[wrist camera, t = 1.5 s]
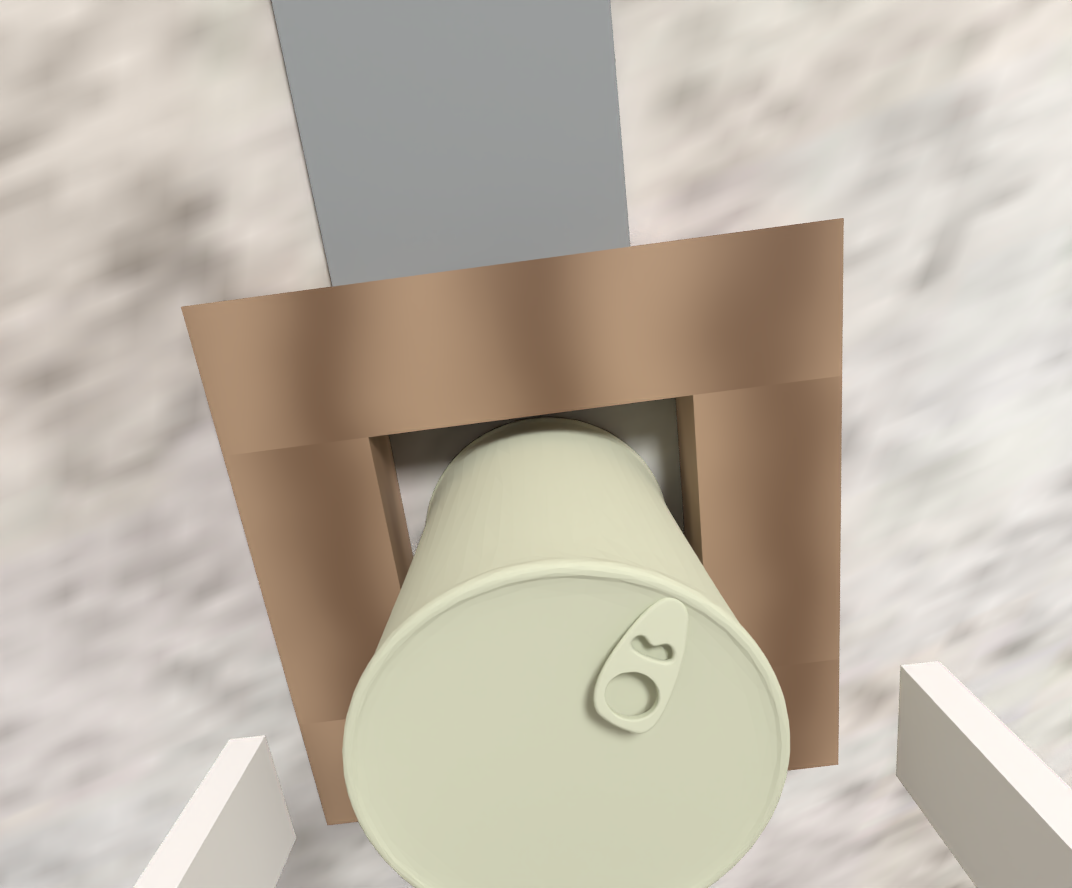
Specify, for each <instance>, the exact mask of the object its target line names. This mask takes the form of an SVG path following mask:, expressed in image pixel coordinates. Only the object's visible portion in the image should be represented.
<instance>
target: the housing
mask: <svg viewBox="0 0 1072 888" xmlns="http://www.w3.org/2000/svg"><path fill="white" fill-rule="evenodd" d="M843 226H844V218H840V219H833V220H825V221H818V222H810V223H803V224H795V225H788V226H780V227H773V228H765V229H758V230H751V231H743V232H736V233H728V234H721V235H713V236H706V237H698V238H691V239H683V240H676V241H669V242H661V243H654V244H646V245H639V246H631V247H624V248H616V249H609V250H601V251H594V252H587V253H579V254H572V255H564V256H557V257H549V258H542V259H534V260H527V261H519V262H512V263H504V264H497V265H490V266H482V267H475V268H467V269H460V270H452V271H445V272H437V273H430V274H422V275H415V276H408V277H400V278H393V279H385V280H378V281H370V282H363V283H355V284H348V285H340V286H333V287H326V288H318V289H311V290H303V291H296V292H288V293H281V294H273V295H266V296H258V297H251V298H243V299H236V300H229V301H221V302H214V303H206V304H199V305H191V306H184V307H181V309H182V312H183V316H184V319H185V323H186V326H187V330H188V333H189V337H190V340H191V344H192V347H193V351H194V355H195V358H196V362H197V365H198V369H199V372H200V376H201V379H202V383H203V386H204V390H205V393H206V397H207V401H208V404H209V408H210V411H211V415H212V418H213V422H214V425H215V429H216V432H217V436H218V439H219V443H220V447H221V450H222V454H223V457H224V461H225V464H226V468H227V471H228V475H229V478H230V482H231V486H232V489H233V493H234V496H235V500H236V503H237V507H238V510H239V514H240V517H241V521H242V524H243V528H244V532H245V535H246V539H247V542H248V546H249V549H250V553H251V556H252V560H253V563H254V567H255V570H256V574H257V578H258V581H259V585H260V588H261V592H262V595H263V599H264V602H265V606H266V609H267V613H268V616H269V620H270V624H271V627H272V631H273V634H274V638H275V641H276V645H277V648H278V652H279V655H280V659H281V662H282V666H283V670H284V673H285V677H286V680H287V684H288V687H289V691H290V694H291V698H292V701H293V705H294V708H295V712H296V716H297V719H298V723H299V726H300V730H301V733H302V737H303V740H304V744H305V747H306V751H307V754H308V758H309V762H310V765H311V769H312V772H313V776H314V779H315V783H316V786H317V790H318V793H319V797H320V801H321V804H322V808H323V811H324V815H325V818H326V822H327V825H334V824H342V823H351V822H358V819H357V817H356V814H355V812H354V810H353V807H352V804H351V802H350V799H349V796H348V792H347V787H346V783H345V778H344V769H343V754H342V748H343V736H344V727H345V721H346V716H347V713H348V709H349V706H350V703H351V700H352V696H353V693H354V691H355V688H356V686H357V684H358V682H359V679H360V677H361V675H362V674H363V672H364V670H365V669H366V667H367V665H368V663H369V662H370V660H371V659H372V657H373V656H374V654H375V651H376V649H377V646H378V644H379V641H380V639H381V637H382V634H383V632H384V629H385V627H386V624H387V622H388V620H389V617H390V615H391V612H392V610H393V607H394V605H395V602H396V600H397V598H398V595H399V593H400V590H401V588H402V585H403V583H404V580H405V578H406V575H407V573H408V570H409V567H410V565H411V562H412V560H413V554H412V549H411V544H410V539H409V534H408V529H407V524H406V519H405V514H404V509H403V504H402V499H401V494H400V489H399V484H398V480H397V475H396V470H395V465H394V460H393V455H392V450H391V445H390V440H389V434H397V433H405V432H412V431H420V430H428V429H436V428H443V427H451V426H459V425H466V424H474V423H482V422H489V421H497V420H505V419H513V418H520V417H528V416H536V415H543V414H551V413H559V412H567V411H574V410H582V409H590V408H597V407H605V406H613V405H620V404H628V403H636V402H644V401H651V400H659V399H667V398H674V397H676V412H677V427H678V442H679V457H680V472H681V487H682V502H683V517H684V532H685V538H686V539H687V541H688V543H689V544H690V546H691V547H692V549H693V551H694V552H695V554H696V555H697V557H698V559H699V560H700V562H701V564H702V565H703V567H704V568H705V570H706V572H707V573H708V575H709V576H710V578H711V580H712V581H713V583H714V584H715V586H716V588H717V589H718V591H719V592H720V594H721V595H722V597H723V598H724V600H725V602H726V603H727V605H728V606H729V608H730V609H731V611H732V612H733V614H734V616H735V617H736V619H737V620H738V622H739V623H740V624H741V626H742V627H743V628H744V629H745V630H746V631H747V632H748V633H749V634H750V636H751V637H752V638H753V639H754V640H755V642H756V643H757V645H758V646H759V648H760V649H761V651H762V652H763V653H764V655H765V657H766V658H767V660H768V662H769V664H770V665H771V667H772V669H773V671H774V673H775V675H776V678H777V680H778V682H779V685H780V687H781V690H782V693H783V696H784V699H785V704H786V709H787V714H788V719H789V729H790V757H789V765H788V770H796V769H805V768H813V767H821V766H830V765H838V734H839V633H840V531H841V429H842V327H843ZM788 770H787V771H788Z"/></svg>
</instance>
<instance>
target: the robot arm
mask: <svg viewBox="0 0 1072 888" xmlns="http://www.w3.org/2000/svg"><path fill="white" fill-rule="evenodd" d="M896 776H897V777H898V779H899V780H900V782H901V783H902V784H903V786H904V787H905V788H906V790H907V791H908V793H909V794H910V795H911V797H912V798H913V800H914V801H915V802H916V804H917V805H918V807H919V808H920V809H921V811H922V812H923V814H924V815H925V816H926V818H927V819H928V821H929V822H930V823H931V825H932V826H933V828H934V829H935V830H936V832H937V833H938V835H939V836H940V837H941V839H942V840H943V841H944V843H945V844H946V846H947V847H948V848H949V850H950V851H951V853H952V854H953V855H954V857H955V858H956V860H957V861H958V862H959V864H960V865H961V867H962V868H963V869H964V871H965V872H966V874H967V875H968V876H969V878H970V879H971V881H972V882H973V883H974V885H975V886H976V888H1072V789H1071V788H1070V787H1069V786H1068V785H1067V784H1066V783H1065V782H1064V781H1063V780H1062V779H1061V778H1060V777H1059V776H1058V775H1057V774H1056V773H1055V772H1054V771H1053V770H1052V769H1050V768H1049V767H1048V766H1047V765H1046V764H1045V763H1044V762H1043V761H1042V760H1041V759H1040V758H1039V757H1038V756H1037V755H1036V754H1035V753H1034V752H1033V751H1032V750H1031V749H1030V748H1029V747H1028V746H1027V745H1026V744H1025V743H1024V742H1022V741H1021V740H1020V739H1019V738H1018V737H1017V736H1016V735H1015V734H1014V733H1013V732H1012V731H1011V730H1010V729H1009V728H1008V727H1007V726H1006V725H1005V724H1004V723H1003V722H1002V721H1001V720H1000V719H999V718H998V717H997V716H996V715H994V714H993V713H992V712H991V711H990V710H989V709H988V708H987V707H986V706H985V705H984V704H983V703H982V702H981V701H980V700H979V699H978V698H977V697H976V696H975V695H974V694H973V693H972V692H971V691H970V690H969V689H968V688H966V687H965V686H964V685H963V684H962V683H961V682H960V681H959V680H958V679H957V678H956V677H955V676H954V675H953V674H952V673H951V672H950V671H949V670H948V669H947V668H946V667H945V666H944V665H943V664H942V663H941V662H940V661H935V662H926V663H916V664H907V665H901V667H900V691H899V716H898V740H897V764H896ZM295 840H296V835H295V832H294V829H293V825H292V822H291V819H290V815H289V812H288V809H287V805H286V802H285V799H284V795H283V792H282V789H281V786H280V782H279V779H278V776H277V772H276V769H275V766H274V762H273V759H272V756H271V752H270V749H269V746H268V742H267V739H266V736H265V735H263V736H254V737H245V738H236V739H229V741H228V742H227V744H226V745H225V747H224V749H223V750H222V752H221V753H220V755H219V756H218V758H217V759H216V761H215V762H214V764H213V765H212V767H211V769H210V770H209V772H208V773H207V775H206V776H205V778H204V779H203V781H202V782H201V784H200V785H199V787H198V788H197V790H196V792H195V793H194V795H193V796H192V798H191V799H190V801H189V802H188V804H187V805H186V807H185V808H184V810H183V811H182V813H181V815H180V816H179V818H178V819H177V821H176V822H175V824H174V825H173V827H172V828H171V830H170V831H169V833H168V835H167V836H166V838H165V839H164V841H163V842H162V844H161V845H160V847H159V848H158V850H157V851H156V853H155V854H154V856H153V858H152V859H151V861H150V862H149V864H148V865H147V867H146V868H145V870H144V871H143V873H142V874H141V876H140V878H139V879H138V881H137V882H136V884H135V885H134V887H133V888H275V887H276V885H277V883H278V880H279V878H280V875H281V873H282V871H283V868H284V866H285V864H286V861H287V859H288V856H289V854H290V852H291V849H292V847H293V845H294V842H295Z"/></svg>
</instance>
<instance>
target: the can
mask: <svg viewBox="0 0 1072 888" xmlns="http://www.w3.org/2000/svg"><path fill="white" fill-rule="evenodd" d="M342 754H343V769H344V778H345V783H346V787H347V792H348V796H349V799H350V802H351V804H352V807H353V810H354V812H355V814H356V817H357V819H358V822H359V824H360V826H361V827H362V829H363V831H364V832H365V834H366V836H367V838H368V839H369V841H370V842H371V844H372V845H373V846H374V848H375V849H376V850H377V851H378V853H379V854H380V855H381V857H382V858H383V859H384V860H385V861H386V862H387V863H388V864H389V865H390V866H391V867H392V868H393V869H394V870H395V871H396V872H397V873H398V874H399V875H400V876H401V877H402V878H403V879H404V880H406V881H407V882H408V883H409V884H411V885H412V886H413V887H415V888H708V887H709V886H711V885H712V884H713V883H715V882H716V881H718V880H719V879H720V878H721V877H722V876H723V875H725V874H726V873H727V872H728V871H729V870H730V869H732V868H733V867H734V866H735V865H736V864H737V863H738V862H739V861H740V859H741V858H742V857H743V856H744V855H745V854H746V853H747V852H748V851H749V850H750V849H751V847H752V846H753V845H754V843H755V842H756V840H757V839H758V838H759V836H760V835H761V833H762V832H763V830H764V829H765V827H766V825H767V824H768V822H769V820H770V819H771V817H772V815H773V813H774V810H775V808H776V806H777V804H778V802H779V799H780V796H781V793H782V789H783V786H784V783H785V780H786V775H787V770H788V765H789V757H790V729H789V719H788V714H787V709H786V704H785V699H784V696H783V693H782V690H781V687H780V685H779V682H778V680H777V678H776V675H775V673H774V671H773V669H772V667H771V665H770V664H769V662H768V660H767V658H766V657H765V655H764V653H763V652H762V651H761V649H760V648H759V646H758V645H757V643H756V642H755V640H754V639H753V638H752V637H751V636H750V634H749V633H748V632H747V631H746V630H745V629H744V628H743V627H742V626H741V624H740V623H739V622H738V620H737V619H736V617H735V616H734V614H733V612H732V611H731V609H730V608H729V606H728V605H727V603H726V602H725V600H724V598H723V597H722V595H721V594H720V592H719V591H718V589H717V588H716V586H715V584H714V583H713V581H712V580H711V578H710V576H709V575H708V573H707V572H706V570H705V568H704V567H703V565H702V564H701V562H700V560H699V559H698V557H697V555H696V554H695V552H694V551H693V549H692V547H691V546H690V544H689V543H688V541H687V539H686V538H685V536H684V534H683V533H682V531H681V530H680V528H679V526H678V525H677V523H676V521H675V520H674V518H673V516H672V515H671V513H670V511H669V509H668V508H667V506H666V504H665V501H664V497H663V495H662V492H661V489H660V487H659V485H658V482H657V480H656V479H655V477H654V475H653V473H652V472H651V470H650V469H649V467H648V466H647V465H646V463H645V462H644V461H643V460H642V458H641V457H640V456H639V455H638V454H637V453H636V452H635V451H634V450H633V449H632V448H630V447H629V446H628V445H627V444H626V443H624V442H623V441H622V440H620V439H619V438H617V437H616V436H614V435H612V434H611V433H609V432H607V431H605V430H603V429H601V428H599V427H596V426H593V425H591V424H588V423H584V422H581V421H577V420H572V419H565V418H548V417H542V418H532V419H525V420H520V421H516V422H512V423H509V424H506V425H503V426H501V427H498V428H496V429H494V430H492V431H489V432H488V433H486V434H484V435H482V436H481V437H479V438H478V439H476V440H474V441H473V442H472V443H470V444H469V445H468V446H467V447H465V448H464V449H463V450H462V451H461V452H460V453H459V454H458V455H457V456H456V457H455V458H454V459H453V460H452V462H451V463H450V464H449V465H448V467H447V468H446V470H445V471H444V472H443V474H442V476H441V477H440V479H439V481H438V483H437V485H436V487H435V489H434V491H433V494H432V497H431V500H430V503H429V507H428V512H427V519H426V526H425V528H424V531H423V534H422V536H421V539H420V542H419V544H418V547H417V549H416V552H415V555H414V557H413V560H412V562H411V565H410V567H409V570H408V573H407V575H406V578H405V580H404V583H403V585H402V588H401V590H400V593H399V595H398V598H397V600H396V602H395V605H394V607H393V610H392V612H391V615H390V617H389V620H388V622H387V624H386V627H385V629H384V632H383V634H382V637H381V639H380V641H379V644H378V646H377V649H376V651H375V654H374V656H373V657H372V659H371V660H370V662H369V663H368V665H367V667H366V669H365V670H364V672H363V674H362V675H361V677H360V679H359V682H358V684H357V686H356V688H355V691H354V693H353V696H352V700H351V703H350V706H349V709H348V713H347V716H346V721H345V727H344V736H343V748H342Z"/></svg>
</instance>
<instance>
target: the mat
mask: <svg viewBox="0 0 1072 888" xmlns="http://www.w3.org/2000/svg"><path fill="white" fill-rule="evenodd" d="M271 1H272V6H273V10H274V15H275V20H276V25H277V29H278V34H279V39H280V43H281V48H282V53H283V57H284V62H285V67H286V71H287V76H288V81H289V85H290V90H291V95H292V99H293V104H294V109H295V113H296V118H297V123H298V127H299V132H300V137H301V142H302V146H303V151H304V156H305V160H306V165H307V170H308V174H309V179H310V184H311V188H312V193H313V198H314V202H315V207H316V212H317V216H318V221H319V226H320V230H321V235H322V240H323V244H324V249H325V254H326V259H327V263H328V268H329V273H330V277H331V282H332V287H333V286H340V285H348V284H355V283H363V282H370V281H378V280H385V279H393V278H400V277H408V276H415V275H422V274H430V273H437V272H445V271H452V270H460V269H467V268H475V267H482V266H490V265H497V264H504V263H512V262H519V261H527V260H534V259H542V258H549V257H557V256H564V255H572V254H579V253H587V252H594V251H601V250H609V249H616V248H624V247H630V237H629V225H628V212H627V200H626V188H625V176H624V164H623V151H622V139H621V127H620V115H619V102H618V90H617V78H616V66H615V54H614V41H613V29H612V17H611V5H610V0H271Z"/></svg>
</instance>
